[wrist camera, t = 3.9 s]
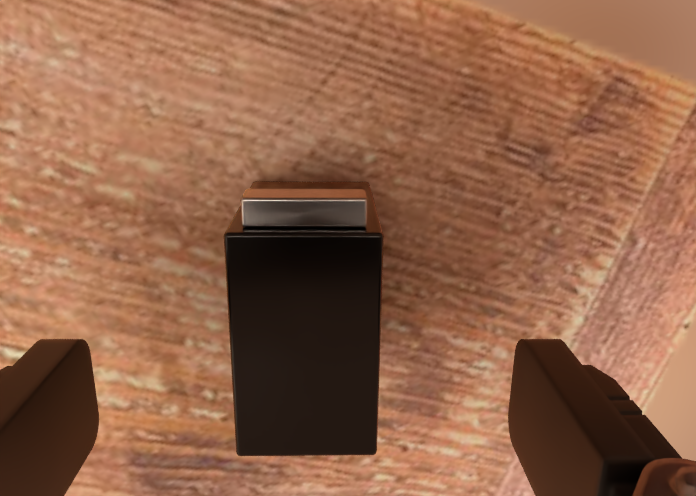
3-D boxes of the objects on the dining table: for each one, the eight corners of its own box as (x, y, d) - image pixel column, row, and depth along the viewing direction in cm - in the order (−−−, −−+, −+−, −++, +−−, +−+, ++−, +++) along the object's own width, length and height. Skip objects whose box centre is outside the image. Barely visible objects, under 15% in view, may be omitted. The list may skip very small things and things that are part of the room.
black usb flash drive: (252, 157, 15) (221, 201, 11) (369, 158, 15) (384, 202, 11) (259, 354, 17) (236, 457, 13) (365, 353, 17) (376, 457, 13)
